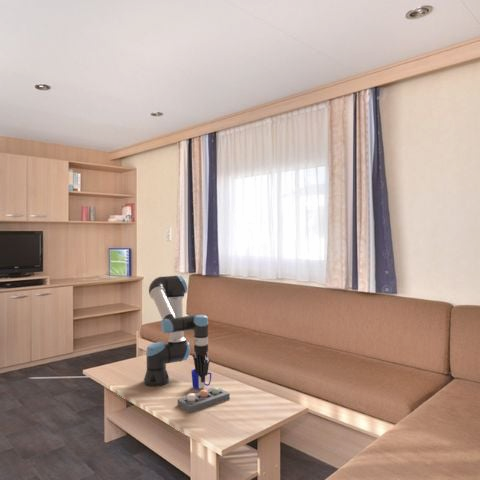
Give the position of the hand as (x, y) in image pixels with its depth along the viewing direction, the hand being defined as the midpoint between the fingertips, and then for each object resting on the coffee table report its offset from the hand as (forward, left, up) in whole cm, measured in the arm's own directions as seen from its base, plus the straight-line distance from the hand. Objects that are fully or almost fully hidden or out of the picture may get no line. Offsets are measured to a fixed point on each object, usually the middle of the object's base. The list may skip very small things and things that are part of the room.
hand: (201, 387), depth 211 cm
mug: (-17, +11, -9) cm, 22 cm away
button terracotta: (0, +1, -5) cm, 6 cm away
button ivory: (0, -7, -5) cm, 8 cm away
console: (0, +1, -8) cm, 8 cm away
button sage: (0, +9, -6) cm, 11 cm away
